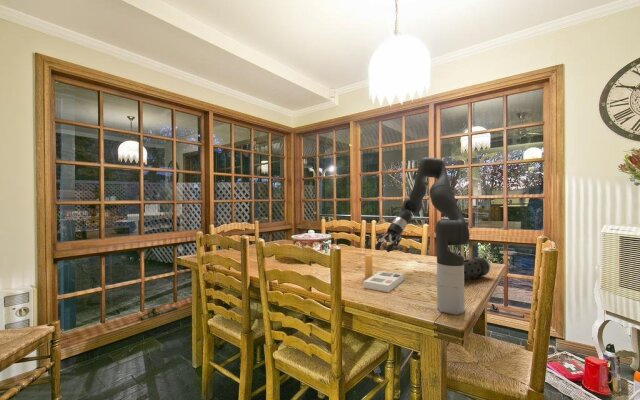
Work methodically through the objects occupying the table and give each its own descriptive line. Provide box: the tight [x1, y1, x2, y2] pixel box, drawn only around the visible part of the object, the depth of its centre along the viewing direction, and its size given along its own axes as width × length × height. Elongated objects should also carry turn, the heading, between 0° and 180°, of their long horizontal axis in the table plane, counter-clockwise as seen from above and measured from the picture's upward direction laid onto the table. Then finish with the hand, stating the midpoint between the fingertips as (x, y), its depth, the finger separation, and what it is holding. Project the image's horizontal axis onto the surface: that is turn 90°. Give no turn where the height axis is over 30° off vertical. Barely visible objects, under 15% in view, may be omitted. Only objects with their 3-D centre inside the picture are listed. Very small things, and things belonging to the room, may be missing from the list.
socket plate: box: [363, 270, 405, 293], centre depth 136 cm, size 22×12×3 cm, turn 146°
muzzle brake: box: [464, 256, 491, 280], centre depth 141 cm, size 10×28×10 cm, turn 116°
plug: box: [364, 254, 374, 280], centre depth 145 cm, size 4×4×12 cm
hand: (381, 249), depth 150 cm, fingers open, 8 cm apart
